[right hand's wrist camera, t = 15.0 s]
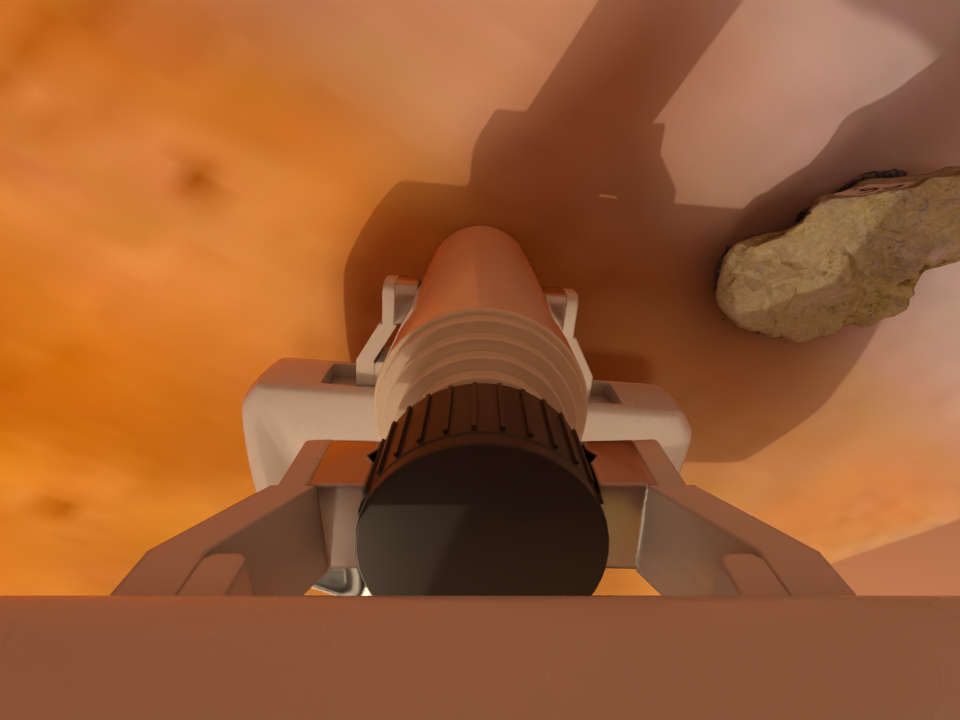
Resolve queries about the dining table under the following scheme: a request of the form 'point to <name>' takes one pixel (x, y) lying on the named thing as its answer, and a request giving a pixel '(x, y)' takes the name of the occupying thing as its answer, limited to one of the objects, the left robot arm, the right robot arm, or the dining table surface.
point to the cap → (481, 501)
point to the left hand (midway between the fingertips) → (480, 284)
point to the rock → (843, 257)
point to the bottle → (480, 332)
